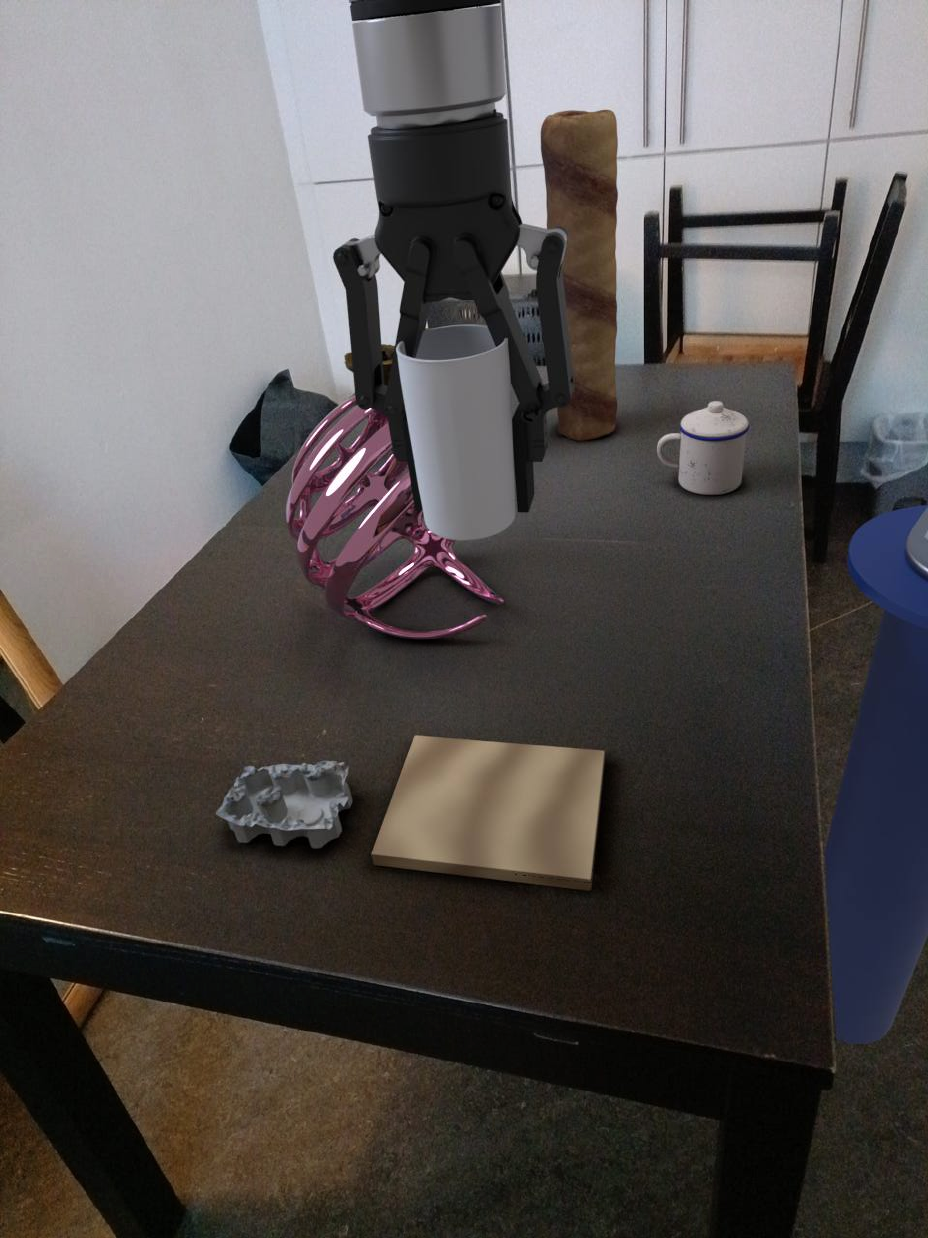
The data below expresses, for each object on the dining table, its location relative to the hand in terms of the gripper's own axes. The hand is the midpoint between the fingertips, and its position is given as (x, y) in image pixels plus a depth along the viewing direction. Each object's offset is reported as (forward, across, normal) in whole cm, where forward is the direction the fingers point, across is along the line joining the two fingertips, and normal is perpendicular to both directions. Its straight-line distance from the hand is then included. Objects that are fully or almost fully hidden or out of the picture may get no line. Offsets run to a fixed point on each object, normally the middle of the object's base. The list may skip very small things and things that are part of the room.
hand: (474, 501), depth 57 cm
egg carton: (+29, +18, +6) cm, 35 cm away
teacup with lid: (+29, -17, -60) cm, 69 cm away
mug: (+1, 0, 0) cm, 1 cm away
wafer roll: (+29, +1, -79) cm, 85 cm away
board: (+29, 0, +3) cm, 29 cm away
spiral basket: (+29, +16, -28) cm, 44 cm away
